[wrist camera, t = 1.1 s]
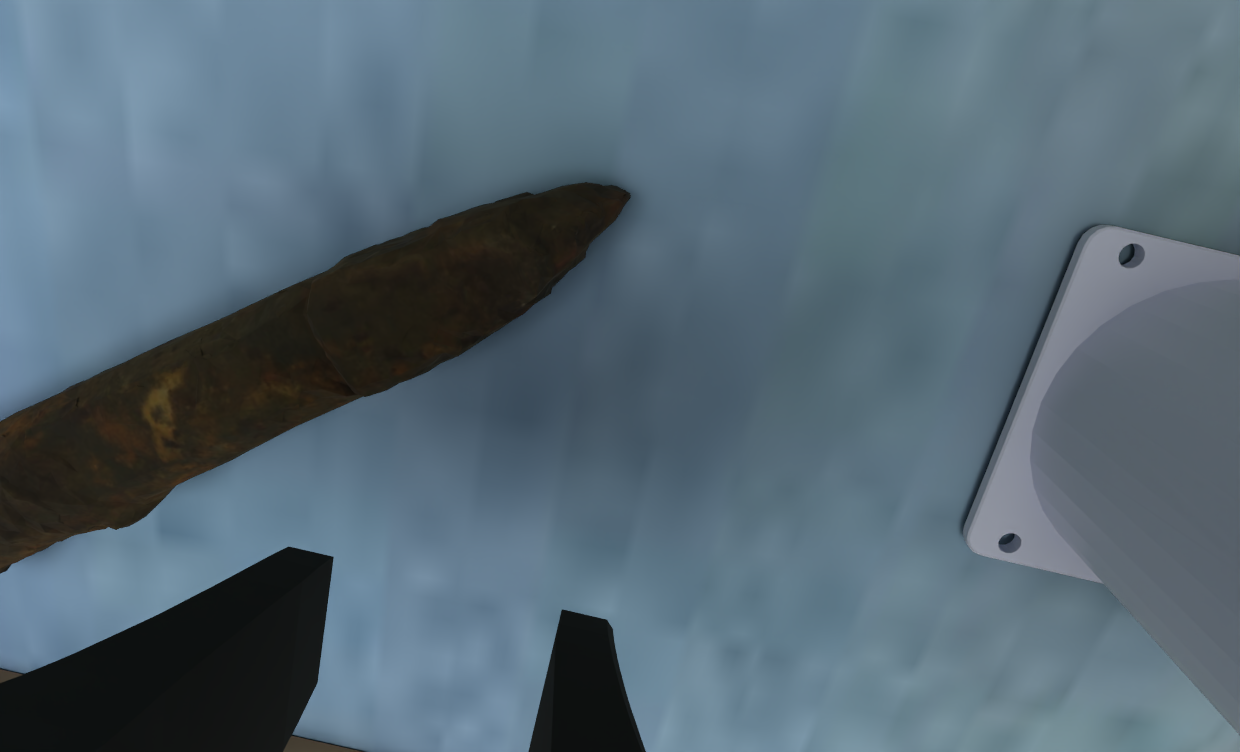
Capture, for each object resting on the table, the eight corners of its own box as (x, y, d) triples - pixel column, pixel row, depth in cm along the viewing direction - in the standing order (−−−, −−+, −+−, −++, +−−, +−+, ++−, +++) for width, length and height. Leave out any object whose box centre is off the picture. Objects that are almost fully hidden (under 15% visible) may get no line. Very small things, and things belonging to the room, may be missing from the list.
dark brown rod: (24, 559, 23) (-132, 670, 18) (-66, 432, 21) (-255, 517, 17) (675, 301, 19) (676, 359, 15) (606, 136, 18) (586, 146, 14)
